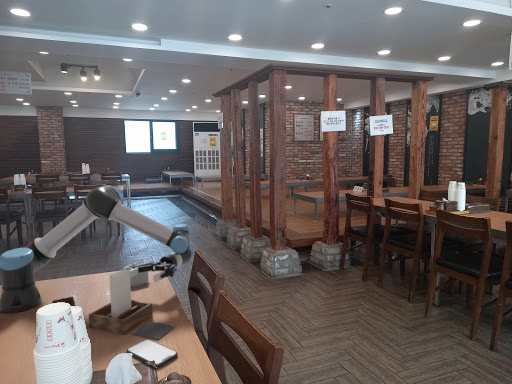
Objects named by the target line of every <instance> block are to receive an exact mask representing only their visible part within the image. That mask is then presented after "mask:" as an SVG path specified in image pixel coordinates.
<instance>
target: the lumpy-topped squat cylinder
mask: <svg viewBox="0 0 512 384" xmlns="http://www.w3.org/2000/svg"><path fill="white" fill-rule="evenodd" d="M141 264H144V263H137V262H134V263H130V264H128V265H125V266H124V267H123V270H124V269H126V270H132V269H133V266H136V265H141ZM149 280H150V278H149V271H146V272H140V273H138V274H137V275H135V276H133V277H131V278H130V287H132V286H134V287H139V286H141V285H140V284H142V285H145V284H144V283H146V284H148V283H149V282H148V281H149ZM147 282H148V283H147ZM138 285H139V286H138Z"/></svg>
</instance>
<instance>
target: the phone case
mask: <svg viewBox="0 0 512 384" xmlns="http://www.w3.org/2000/svg"><path fill="white" fill-rule="evenodd" d="M127 353H132V354H133V356H132V357H133V358H134V359H136V360H139V361H140V362H142V363H144V362H148V361H153V360H154V361H155V363H156V367H157V369H160V368H162V367H163V366H166V365H167V364H169V363H170V362H172V361H174V360H175V359H177V358H178V357H179V355H178V351H175V350H173V349H171V348H168V347H167V346H164V345H163V344H159V343H157V342H155V341H153V340H152V339H144V340H142V341H140V342H138V343H136V344H134V345H131V346H130V347H128V348H126V354H127Z"/></svg>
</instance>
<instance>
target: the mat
mask: <svg viewBox="0 0 512 384" xmlns="http://www.w3.org/2000/svg"><path fill="white" fill-rule="evenodd" d="M175 326H176V325H173V324H167V323H161V322H157V321H152V320H150V321H148V322H147V323H145V324H144V325H142V326H141V327H139V328H138V329H136V330H135V331H134V332H132V333H131V334H132V336H138V337H142V338H147V339H150V340H157V341H159V340H160V339H162V338H163V337H164V336H165V335H167V334H169V332H170V331H171V330H173V329H174V328H175Z"/></svg>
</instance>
